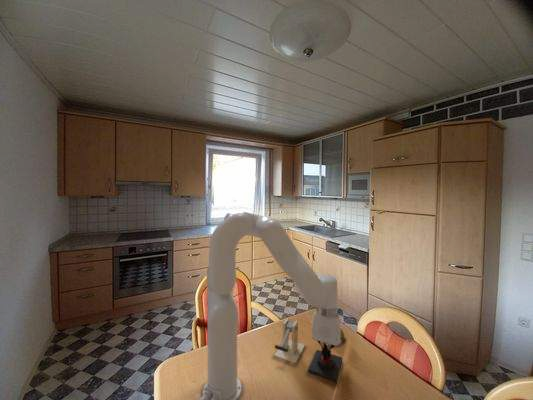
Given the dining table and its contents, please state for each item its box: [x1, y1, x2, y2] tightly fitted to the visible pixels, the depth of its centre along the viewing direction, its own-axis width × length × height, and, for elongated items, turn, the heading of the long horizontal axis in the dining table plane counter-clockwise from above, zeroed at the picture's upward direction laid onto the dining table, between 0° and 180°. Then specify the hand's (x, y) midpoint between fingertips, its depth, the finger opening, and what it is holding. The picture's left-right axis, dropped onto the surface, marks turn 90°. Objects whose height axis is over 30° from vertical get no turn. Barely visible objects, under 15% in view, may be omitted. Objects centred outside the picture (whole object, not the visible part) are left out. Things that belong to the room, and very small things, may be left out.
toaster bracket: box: [273, 317, 306, 364], centre depth 94 cm, size 12×9×13 cm
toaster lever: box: [274, 320, 295, 352], centre depth 90 cm, size 12×5×2 cm, turn 153°
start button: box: [321, 355, 331, 363], centre depth 86 cm, size 4×4×2 cm
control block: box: [307, 349, 343, 386], centre depth 86 cm, size 12×10×4 cm
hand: (326, 357), depth 86 cm, fingers closed
